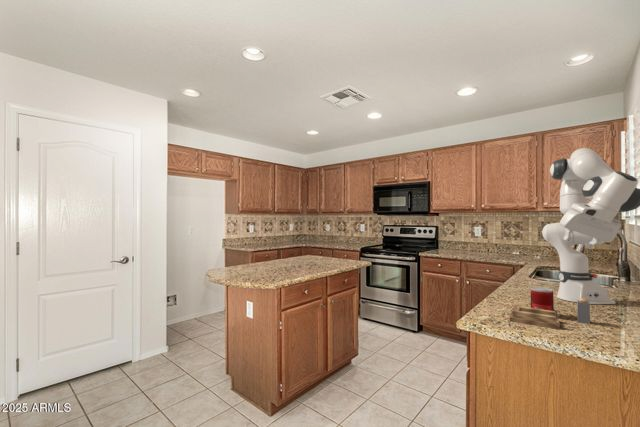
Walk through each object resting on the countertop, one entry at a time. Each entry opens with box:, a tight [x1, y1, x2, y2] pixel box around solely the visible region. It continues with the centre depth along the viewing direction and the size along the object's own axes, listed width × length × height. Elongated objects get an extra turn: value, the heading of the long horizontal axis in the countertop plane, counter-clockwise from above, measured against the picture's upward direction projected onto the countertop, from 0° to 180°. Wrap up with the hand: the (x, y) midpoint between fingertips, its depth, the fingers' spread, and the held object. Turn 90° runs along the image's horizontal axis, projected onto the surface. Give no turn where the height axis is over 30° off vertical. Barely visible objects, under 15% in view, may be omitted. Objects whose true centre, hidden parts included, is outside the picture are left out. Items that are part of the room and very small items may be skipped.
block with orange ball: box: [576, 298, 591, 325], centre depth 121 cm, size 4×4×9 cm
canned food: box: [530, 286, 555, 311], centre depth 131 cm, size 8×8×11 cm
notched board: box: [509, 305, 561, 330], centre depth 122 cm, size 16×11×4 cm
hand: (576, 243), depth 120 cm, fingers open, 8 cm apart
